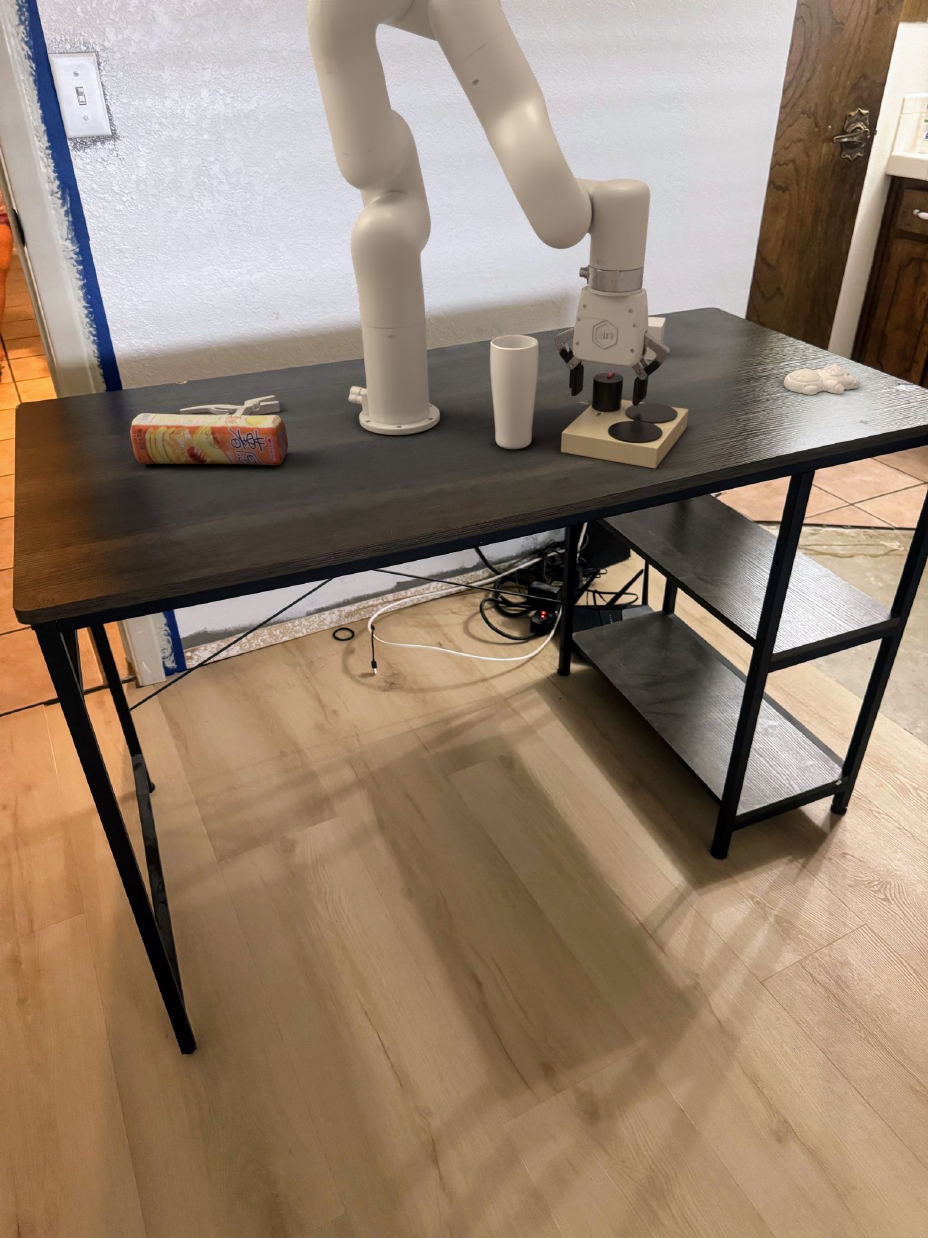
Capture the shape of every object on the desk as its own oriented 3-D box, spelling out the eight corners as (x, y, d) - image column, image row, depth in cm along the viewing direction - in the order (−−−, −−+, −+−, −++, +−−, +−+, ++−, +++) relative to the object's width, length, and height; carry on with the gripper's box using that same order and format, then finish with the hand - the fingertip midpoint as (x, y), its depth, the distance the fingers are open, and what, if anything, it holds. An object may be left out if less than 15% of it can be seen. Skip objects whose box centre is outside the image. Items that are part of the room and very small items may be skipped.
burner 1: (618, 418, 128) (618, 416, 128) (634, 401, 134) (634, 399, 134) (669, 426, 125) (669, 424, 125) (683, 409, 131) (683, 407, 131)
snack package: (291, 451, 129) (285, 406, 125) (281, 470, 123) (274, 424, 119) (150, 451, 130) (139, 407, 126) (133, 469, 124) (122, 424, 121)
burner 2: (600, 437, 123) (600, 435, 123) (618, 419, 128) (618, 417, 128) (653, 446, 120) (653, 444, 120) (668, 427, 125) (669, 425, 125)
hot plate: (549, 449, 127) (549, 429, 125) (588, 412, 139) (589, 392, 137) (655, 468, 121) (657, 447, 119) (686, 427, 133) (689, 407, 131)
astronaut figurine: (865, 394, 143) (869, 375, 141) (791, 395, 143) (795, 377, 141) (845, 376, 150) (849, 358, 148) (775, 377, 150) (778, 360, 149)
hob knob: (615, 413, 130) (617, 382, 127) (587, 409, 132) (589, 378, 129) (625, 404, 133) (627, 373, 130) (597, 399, 135) (599, 369, 132)
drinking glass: (537, 434, 132) (539, 334, 123) (535, 453, 126) (538, 349, 118) (492, 434, 132) (491, 334, 124) (488, 452, 127) (488, 348, 118)
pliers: (178, 403, 141) (269, 389, 146) (180, 413, 142) (270, 398, 147) (188, 424, 134) (284, 408, 139) (190, 434, 135) (285, 417, 140)
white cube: (630, 348, 166) (633, 315, 162) (662, 350, 164) (665, 317, 161) (625, 357, 161) (628, 324, 157) (658, 360, 159) (662, 326, 156)
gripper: (547, 279, 123) (543, 397, 132) (668, 291, 116) (655, 415, 126) (567, 267, 128) (562, 382, 138) (684, 278, 121) (670, 398, 131)
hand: (606, 397), depth 132 cm, fingers open, 9 cm apart
